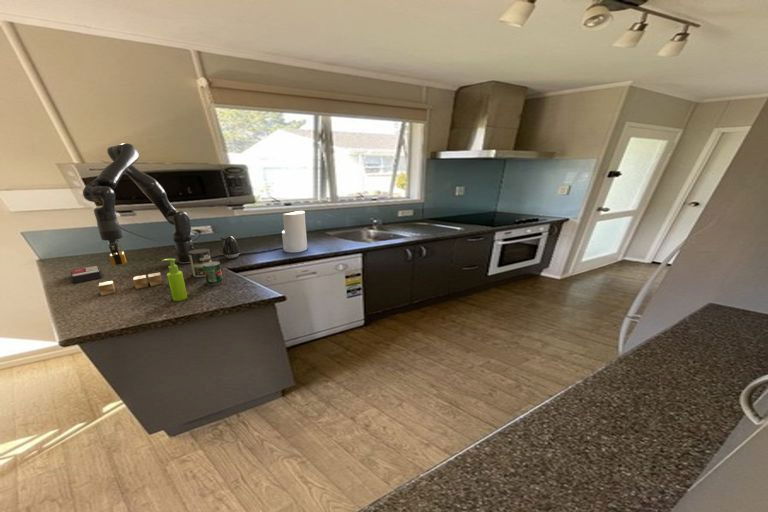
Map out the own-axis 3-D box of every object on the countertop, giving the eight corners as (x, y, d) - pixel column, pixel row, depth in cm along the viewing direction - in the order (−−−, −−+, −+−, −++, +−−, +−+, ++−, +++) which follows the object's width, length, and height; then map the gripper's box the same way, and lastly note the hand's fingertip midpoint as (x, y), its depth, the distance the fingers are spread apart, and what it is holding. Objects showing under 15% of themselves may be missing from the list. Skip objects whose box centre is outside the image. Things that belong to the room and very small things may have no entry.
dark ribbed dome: (225, 255, 198) (221, 234, 194) (241, 254, 201) (238, 233, 197) (222, 260, 189) (218, 238, 184) (239, 259, 192) (236, 237, 187)
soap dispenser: (175, 295, 140) (166, 257, 134) (190, 295, 140) (181, 257, 134) (167, 301, 134) (157, 261, 128) (183, 300, 135) (174, 261, 129)
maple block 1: (115, 289, 145) (112, 280, 144) (114, 292, 142) (112, 283, 140) (102, 292, 142) (99, 282, 141) (101, 295, 139) (98, 286, 137)
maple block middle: (148, 283, 153) (145, 274, 151) (148, 286, 149) (145, 277, 148) (136, 285, 150) (133, 276, 148) (135, 288, 146) (133, 279, 145)
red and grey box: (97, 265, 167) (99, 270, 157) (99, 271, 169) (101, 277, 159) (70, 269, 160) (70, 275, 150) (73, 276, 161) (73, 283, 151)
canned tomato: (204, 282, 156) (201, 263, 152) (220, 278, 161) (217, 260, 158) (208, 286, 150) (205, 267, 147) (225, 282, 156) (221, 263, 152)
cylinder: (312, 248, 219) (309, 212, 210) (294, 253, 205) (291, 215, 196) (296, 244, 228) (293, 209, 219) (278, 249, 214) (274, 212, 205)
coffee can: (217, 271, 170) (213, 249, 166) (201, 278, 161) (197, 254, 156) (204, 269, 173) (200, 247, 169) (188, 275, 164) (183, 252, 160)
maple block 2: (162, 280, 157) (159, 272, 155) (162, 283, 153) (160, 275, 151) (150, 282, 154) (148, 274, 152) (150, 286, 150) (148, 277, 148)
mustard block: (126, 261, 144) (123, 251, 143) (126, 263, 141) (123, 254, 139) (113, 262, 141) (110, 253, 140) (112, 265, 138) (109, 256, 136)
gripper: (119, 230, 132) (129, 265, 138) (120, 225, 143) (129, 257, 148) (97, 233, 128) (108, 268, 133) (100, 227, 138) (110, 260, 144)
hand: (119, 262), depth 141 cm, fingers closed on mustard block, 5 cm apart
